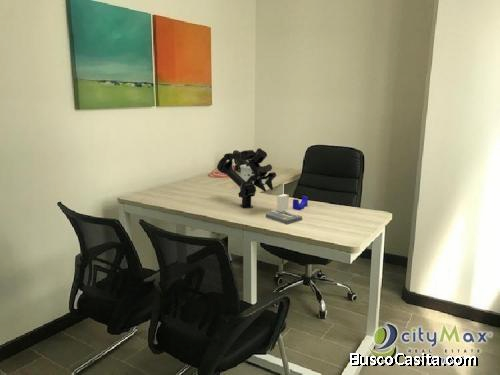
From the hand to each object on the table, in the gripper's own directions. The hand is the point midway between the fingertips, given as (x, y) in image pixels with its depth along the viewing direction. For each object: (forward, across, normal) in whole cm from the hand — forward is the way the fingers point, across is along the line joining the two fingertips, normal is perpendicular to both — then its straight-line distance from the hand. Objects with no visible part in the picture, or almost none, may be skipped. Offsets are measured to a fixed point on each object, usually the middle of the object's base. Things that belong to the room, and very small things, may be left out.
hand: (268, 190), depth 225 cm
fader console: (+18, 0, +1) cm, 18 cm away
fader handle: (+16, 0, 0) cm, 16 cm away
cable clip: (+12, +24, +8) cm, 28 cm away
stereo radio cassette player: (-37, +48, +57) cm, 83 cm away
